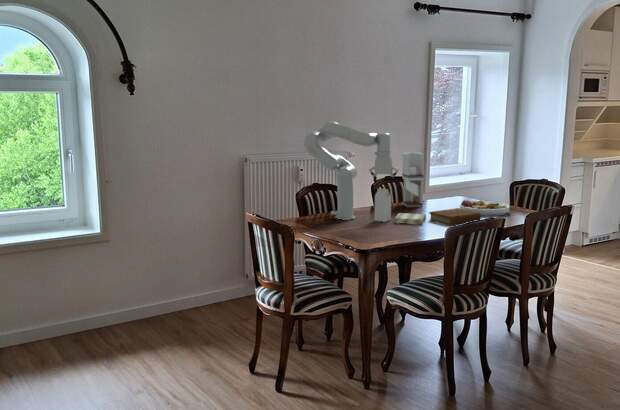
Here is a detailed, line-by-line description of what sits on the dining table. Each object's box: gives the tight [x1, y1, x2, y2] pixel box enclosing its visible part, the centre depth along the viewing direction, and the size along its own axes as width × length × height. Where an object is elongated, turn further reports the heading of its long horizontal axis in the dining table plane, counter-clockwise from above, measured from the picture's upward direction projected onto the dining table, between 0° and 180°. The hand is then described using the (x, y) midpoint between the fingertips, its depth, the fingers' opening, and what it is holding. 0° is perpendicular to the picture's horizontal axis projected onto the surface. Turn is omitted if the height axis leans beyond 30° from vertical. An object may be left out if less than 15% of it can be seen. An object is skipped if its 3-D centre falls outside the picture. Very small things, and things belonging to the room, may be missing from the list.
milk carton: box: [374, 188, 392, 223], centre depth 361 cm, size 7×7×19 cm
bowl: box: [459, 199, 510, 217], centre depth 384 cm, size 30×30×8 cm
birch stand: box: [394, 212, 427, 225], centre depth 360 cm, size 16×16×3 cm
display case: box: [401, 152, 425, 208], centre depth 409 cm, size 11×11×35 cm
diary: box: [429, 207, 482, 227], centre depth 359 cm, size 23×19×6 cm
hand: (383, 183), depth 359 cm, fingers open, 9 cm apart
